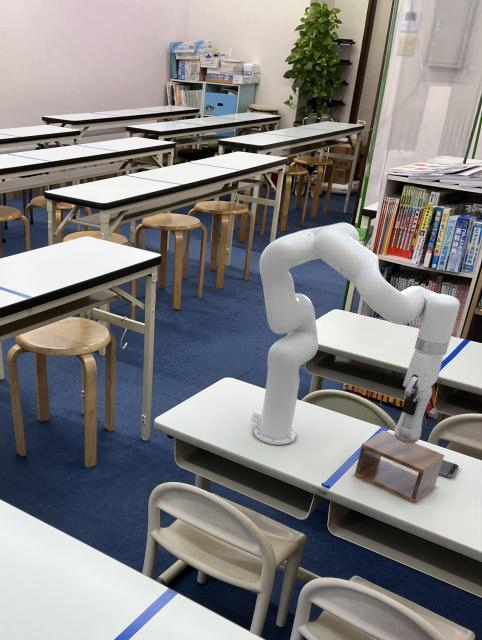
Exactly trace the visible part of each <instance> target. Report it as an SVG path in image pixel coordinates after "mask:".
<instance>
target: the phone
mask: <svg viewBox="0 0 482 640" xmlns="http://www.w3.org/2000/svg"><path fill="white" fill-rule="evenodd" d="M458 470H459V464H457V463H455V462H451V461H448V460H445V459H443V461H442V464H441V467H440V471H439V474H438V476H439V475H440V476H442V477H445V478H450V479H451V478H454V476H455V475H456V473H457V471H458Z"/></svg>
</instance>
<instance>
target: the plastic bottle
mask: <svg viewBox="0 0 482 640" xmlns="http://www.w3.org/2000/svg"><path fill="white" fill-rule="evenodd" d="M406 388H407V387H405V389H406ZM414 389H418V387H416V386H415V387H414ZM412 393H413V394H414V396H415V394H416V392H415V391H412ZM432 396H433V387H432V388H431V386H429V387H427V388H426V389H425V390H423V391H421V392H420V394H419V396H418V398H417V401H418V403H417V406H416V410H415V414H414V415H413V416H412V415H409V414H406V413H404V412H402V411H401V413H400V417H399V420H398V422H397V423H396V426H395V428H394V435H395V437H396V439H397V440H399V441H401V442H403V443H417V442H418V441H419V440H420V438H421V436H422V427H423V421H424V415H425V412H426V409H427V407H428V405H429V402H430V400H431V398H432ZM404 401H405V397H404ZM404 401H403V402H404Z"/></svg>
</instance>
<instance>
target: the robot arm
mask: <svg viewBox="0 0 482 640" xmlns="http://www.w3.org/2000/svg"><path fill="white" fill-rule="evenodd" d="M314 260H321V261H323V262H324V263H326V265H328V266H329V267H331V268H332V269H333V270H335V271H336V272H338V273H339V274H340V275H341V276H342V277H344V278H345V279H346V280H347V281H349V282H351V283H352V284H353V285H354V287H355V288H356V290H357V293H358V294H359V295H360V297H361V298H362V300H363V301H364V302H365V304H366V305H367V306H368V307H369V308H370V309H371V310H373V311H374V312H375V313H377V314H378V315H379V316H381V317H382V318H383V319H385V320H386V321H388V322H390V323H391V324H394V325H399V326H400V325H401V326H402V325H406V324H409V323H411V322H413V321H414V320H415V319H420V318H421V321H420V322H421V323H420V326H419V330H418V334H417V337H416V341H415V344H414V350H415V351H414V352H413V354H412V356H411V359H410V361H409V365H408V368H407V371H406V374H405V377H404V380H403V384H402V386H403V387H404V388H405V389H404V398H405V401H403V404H402V409H401V413H402V412H404V413H406V414H409V415H412V416H413V415H414V414H415V410H416V406H417V403H418V401H417V398H418V396H419V394H420V392H421V391H423V390H425V389H426V388H427V387H429V386H431V388H432V389H433V386H434V384H435V383H436V382H437V381H438V379H439V375H440V372H441V368H442V362H443V359H444V356H446V355H447V351H448V348H449V345H450V341H451V338H452V334H453V331H454V328H455V324H456V321H457V318H458V314H459V311H460V307H461V303H460V300H459V299H458V298H457V297H455V296H452V295H449V294H444V293H443V294H442V293H437V292H434V291H432V290H430V289H427V288H426V287H423V286H419V285H414V286H413V285H412V286H410V287H407V288H405V289H403V290H402V291H400V290H398V289H397V288H396V287H394V286H393V285H392V284H390V283H389V282H388V281H387V280H386V279H385V278H384V277H383V275H382V273H381V271H380V267H379V265H380V264H379V263H380V262H379V261H380V260H379V258H378V256H377V255H376V254H375V253H374V252H372V251H371V250H370V249H367V247H365V246H364V245H362V244H361V243H360V234H359V231H358V230H357V228H355V226H354V225H352V224H350V223H347V222H338V223H333V224H329V225H324V226H318V227H313V228H312V227H311V228H307V229H303V230H302V229H301V230H298V231H296V232H293V233H289V234H286V235H284V236H280V237H278V238H277V239H274V240H273V241H272V242H271V243H269V244H268V245H267V246H266V247H265V248H264V249H263V251H262V253H261V255H260V259H259V262H258V263H259V264H258V265H259V274H260V279H261V284H262V290H263V296H264V297H263V299H264V306H265V313H266V319H267V325H268V327H269V329H270V330H271V332H273V333H275V334H277V335H284V334H286V335H285V336H283V337H281V338H279V339H278V340H276V341H275V342H274V343H273V344H272V345H271V346H270V348H269V350H268V352H267V374H266V375H267V376H266V382H265V391H264V398H263V404H262V412H261V413H258V412H256V411H255V412H253V414H252V417H251V418H250V421H251V422H253V423H256V426H255V427H254V431H253V434H254V436H255V437H256V438H257V439H258V440H259V441H261V442H264V443H267V444H270V445H276V446H277V445H278V446H279V445H281V446H282V445H288V444H291V443H293V442H294V441H295V439H296V436H297V435H296V431H295V430H294V429H293V424H294V418H295V411H296V406H297V400H298V396H299V395H298V394H299V388H300V371H299V370H300V367H301V366H303V365H304V364H305V363H307V362H309V361H310V360H312V359H313V358H314V357H315V356H316V354H317V353H318V349H319V337H318V336H319V335H318V328H317V321H316V320H317V319H316V313H315V312H316V311H315V308H314V305H313V303H312V301H311V299H310V298H309V297H308V296H306V295H305V294H303V293H299V292H298V293H297V292H296V290H295V282H294V279H293V277H292V275H291V273H290V269H291V268H294V267H296V266H299V265H303V264H304V263H307V262H310V261H314ZM415 386H416V387H418V389H414V387H415ZM406 387H407V388H406ZM412 391H415V392H416V394H415V396H414V394H413V393H412Z"/></svg>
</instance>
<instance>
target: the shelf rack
mask: <svg viewBox="0 0 482 640" xmlns="http://www.w3.org/2000/svg"><path fill="white" fill-rule="evenodd" d="M444 457H445V454H444V453H441V452H438V451H436V450H433V449H430V448H428V447H426V446H423V445H421V444H418V443H417V442H415V443H403V442H401V441H399V440H397V439H396V437H395V433H391V432H389V431H387V430H382V431H380V432H379V433H377V434H375V435H374V436H373V437H371V438H369V439H368V440H366V441H365V442H362V444H361V447H360V451H359V456H358V460H357V463H356V468H355V473H354V477H356V478H359V479H361V480H362V481H364V482H367V483H369V484H371V485H373V486H376V487H377V488H381V489H382V490H384V491H387V492H388V493H391V494H393V495H396V496H397V497H400V498H402V499H404V500H405V501H408V502H410V503H413V504H415V503H417V502H418V501H419V500H420V499H421V498H422V497H424V496H425V495H427V493H429V492H430V491H431V490H432V489H434V488H435V487H436V483H437V480H438V477H439V471H440V467H441V464H442V461H443V460H444ZM382 458H384V459H387V460H388V461H391V462H394V463H395V464H398V465H401V466H403V467H405V468H408V469H410V470H412V471H415V472H417V473H418V474H414V473H413V472H410V471H409V470H407V469H403V468H402V467H398V466H396V465H394V464H392V463H390V462H387V461H385V460H383V459H382Z"/></svg>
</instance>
